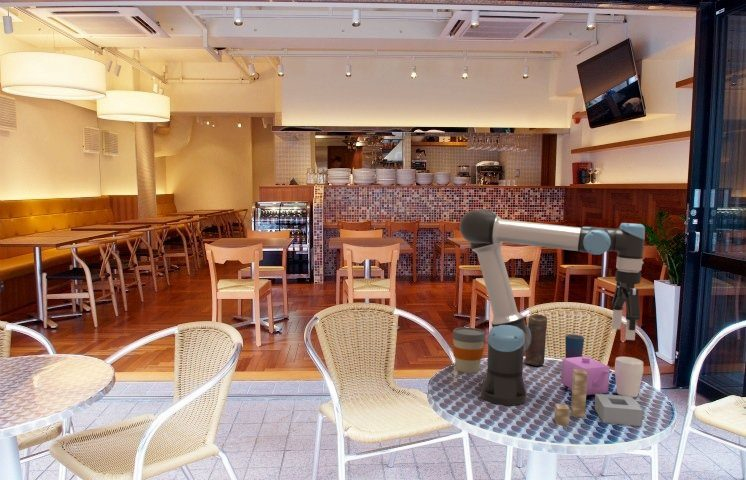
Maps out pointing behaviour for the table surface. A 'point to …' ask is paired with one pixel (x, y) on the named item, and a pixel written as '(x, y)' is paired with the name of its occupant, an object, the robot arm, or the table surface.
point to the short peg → (562, 414)
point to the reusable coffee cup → (468, 348)
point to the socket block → (618, 409)
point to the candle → (536, 340)
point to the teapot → (595, 374)
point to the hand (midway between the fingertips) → (622, 334)
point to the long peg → (579, 393)
